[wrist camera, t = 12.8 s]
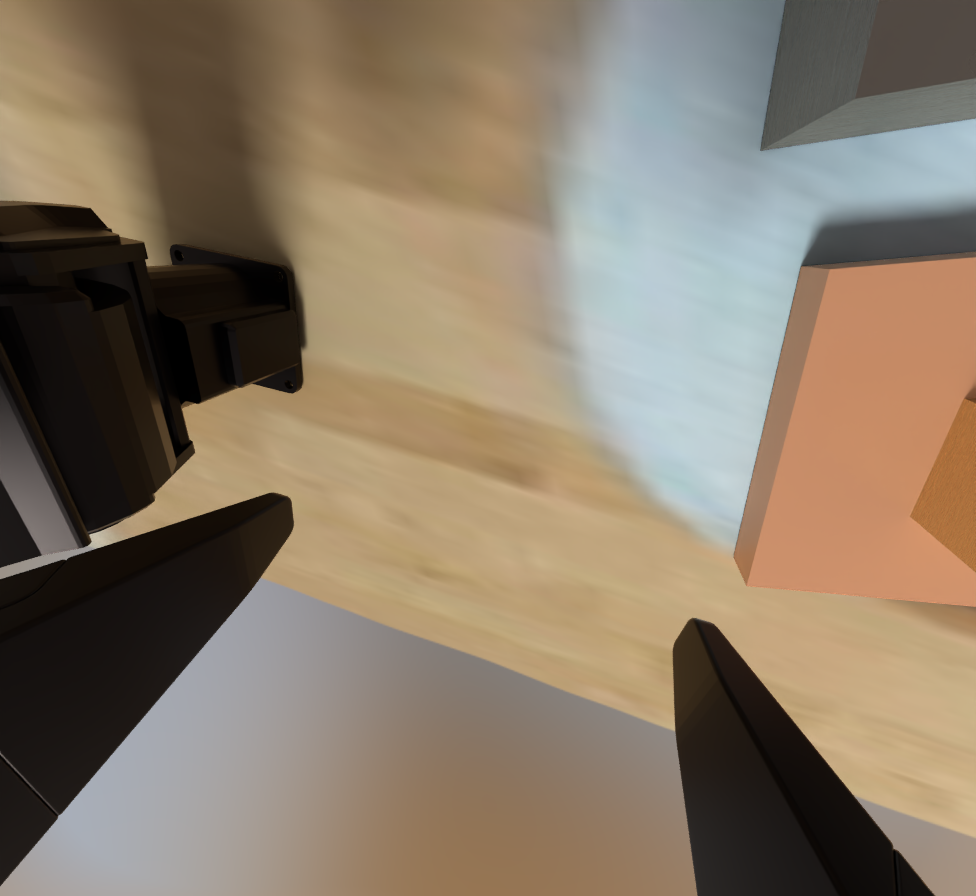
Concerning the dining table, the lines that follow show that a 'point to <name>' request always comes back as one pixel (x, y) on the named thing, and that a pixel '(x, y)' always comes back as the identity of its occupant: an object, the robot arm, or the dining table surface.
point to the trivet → (863, 431)
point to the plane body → (870, 68)
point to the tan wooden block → (953, 489)
